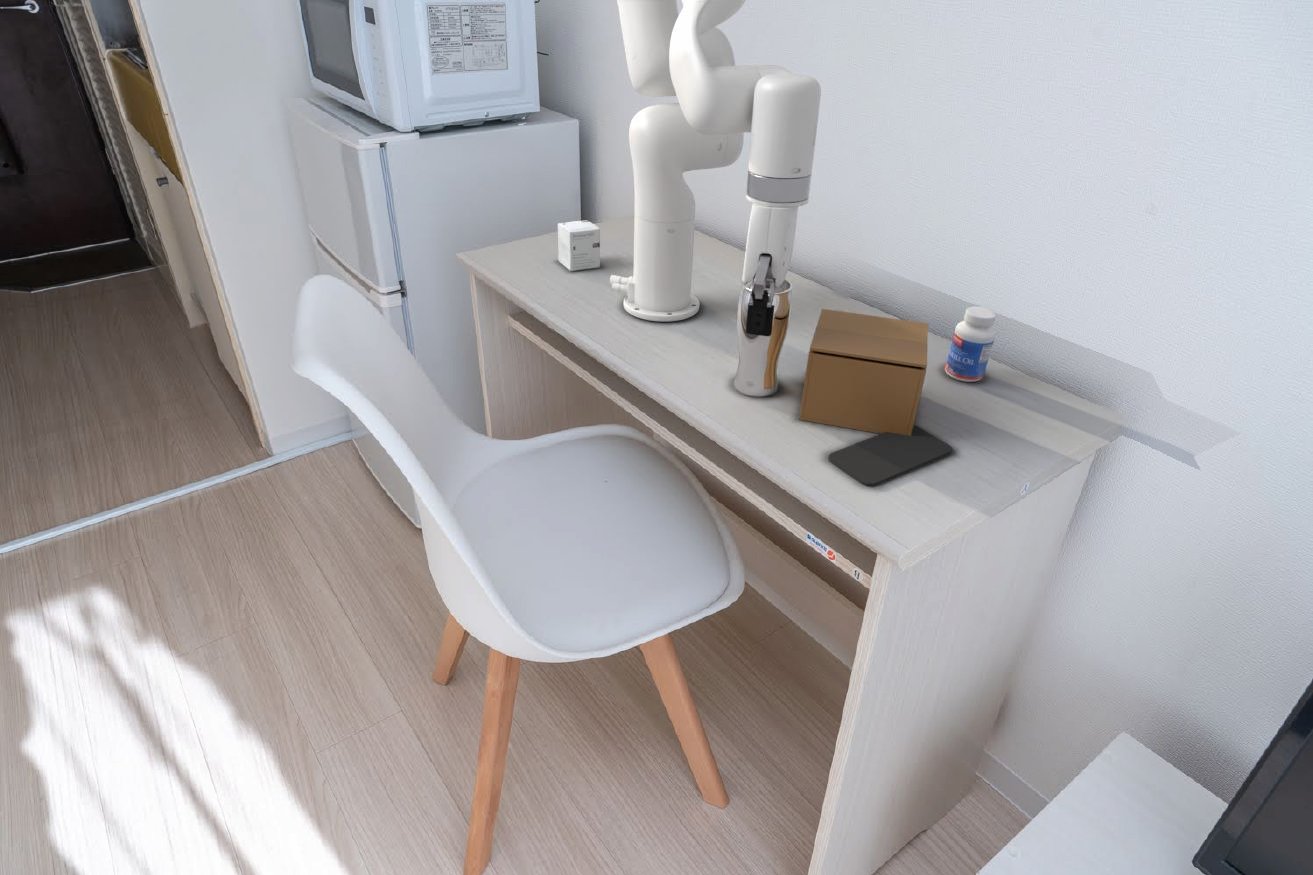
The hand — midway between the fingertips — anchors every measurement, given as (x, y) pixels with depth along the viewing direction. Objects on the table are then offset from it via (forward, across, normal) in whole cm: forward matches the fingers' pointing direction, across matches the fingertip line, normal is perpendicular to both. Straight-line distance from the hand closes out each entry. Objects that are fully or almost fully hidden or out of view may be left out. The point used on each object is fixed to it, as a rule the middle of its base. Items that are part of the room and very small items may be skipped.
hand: (765, 320), depth 105 cm
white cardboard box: (+9, -37, -40) cm, 55 cm away
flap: (+1, -3, +14) cm, 14 cm away
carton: (+10, 0, +14) cm, 17 cm away
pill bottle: (+11, -15, +28) cm, 33 cm away
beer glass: (+10, -1, 0) cm, 10 cm away
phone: (+11, +11, +18) cm, 24 cm away
